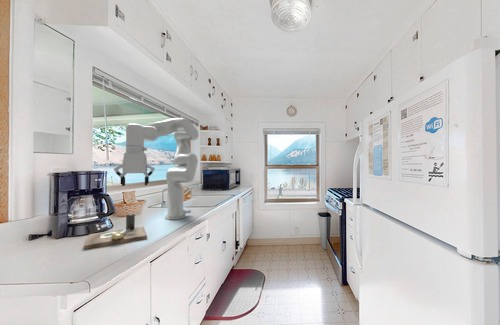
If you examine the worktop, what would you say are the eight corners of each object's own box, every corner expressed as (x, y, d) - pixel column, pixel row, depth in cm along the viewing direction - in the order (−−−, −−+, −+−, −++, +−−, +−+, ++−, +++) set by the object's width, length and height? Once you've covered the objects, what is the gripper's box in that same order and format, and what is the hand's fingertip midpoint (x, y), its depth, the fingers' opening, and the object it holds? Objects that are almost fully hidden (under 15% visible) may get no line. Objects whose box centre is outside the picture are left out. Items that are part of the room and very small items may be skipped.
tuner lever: (120, 239, 85) (121, 222, 85) (109, 240, 85) (109, 222, 85) (136, 228, 101) (136, 213, 101) (127, 228, 101) (127, 214, 101)
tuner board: (143, 229, 105) (143, 226, 105) (146, 238, 91) (147, 234, 91) (89, 237, 93) (89, 233, 93) (84, 249, 79) (84, 245, 80)
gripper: (155, 150, 105) (155, 184, 105) (116, 150, 99) (116, 185, 99) (153, 149, 98) (153, 185, 98) (111, 149, 92) (111, 186, 92)
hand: (135, 185), depth 98 cm, fingers open, 9 cm apart
